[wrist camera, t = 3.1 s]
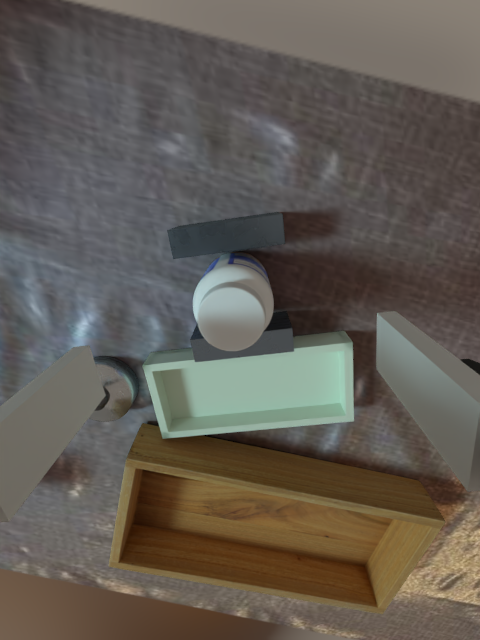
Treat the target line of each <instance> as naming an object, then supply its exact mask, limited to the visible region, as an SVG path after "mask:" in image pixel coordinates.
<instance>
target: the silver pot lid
mask: <svg viewBox="0 0 480 640" xmlns="http://www.w3.org/2000/svg"><path fill="white" fill-rule="evenodd" d="M94 361H95V364H96V367H97V370H98V373H99V377H100V380H101V383H102V386H103V389H104V392H105V395H106V396H105V397H104V398H103V400H102V401H101V402H100V404H99V405H98V406H97V408H96V409H95V410H94V411H93V413H92V414H91V415H90V417H89V419H92V420H95V421H101V422H109V421H114V420H117V419H119V418H121V417H122V416H124V415H125V414H126V413H127V412H128V410H129V408H130V407H131V405H132V403H133V401H134V400H135V398H136V396H137V394H138V389H139V385H138V380H137V377H136V375H135V373H134V372H133V370H132V369H131V368H130V367H129V366H128V365H127V364H125V363H124V362H122V361H120V360H118V359H116V358H113V357H108V356H99V357H94Z"/></svg>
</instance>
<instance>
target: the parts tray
mask: <svg viewBox="0 0 480 640" xmlns="http://www.w3.org/2000/svg"><path fill="white" fill-rule="evenodd" d="M293 343H294V352H285V353H276V354H267V355H258V356H249V357H240V358H231V359H222V360H213V361H203V362H195V360H194V355H193V351H192V348H186V349H177V350H169V351H160V352H151V353H150V355H149V356H148V358H147V359H146V361H145V362H144V364H143V365H142V366H143V369H144V373H145V376H146V380H147V384H148V387H149V391H150V395H151V398H152V402H153V405H154V409H155V413H156V416H157V420H158V423H159V427H160V431H161V434H162V438H163V439H166V438H177V437H188V436H198V435H209V434H220V433H231V432H241V431H252V430H263V429H274V428H284V427H295V426H306V425H317V424H327V423H338V422H349V421H354V397H353V342H352V340H351V339H350V338H349V336H348V335H347V334H346V332H345V331H336V332H327V333H318V334H309V335H301V336H293Z"/></svg>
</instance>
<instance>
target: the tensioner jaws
mask: <svg viewBox="0 0 480 640" xmlns="http://www.w3.org/2000/svg"><path fill="white" fill-rule="evenodd" d="M167 231H168V236H169V241H170V246H171V251H172V255H173V259H177V258H185V257H192V256H199V255H207V254H214V253H222V252H229V251H236V250H244V249H251V248H259V247H266V246H273V245H281V244H285V237H284V225H283V214H281V213H279V212H274V213H267V214H260V215H253V216H246V217H239V218H232V219H225V220H218V221H211V222H204V223H197V224H190V225H183V226H178V227H175V228H172V229H170V230H167ZM190 341H191V346H192V351H193V355H194V360H195V362H203V361H213V360H222V359H231V358H240V357H249V356H258V355H267V354H276V353H285V352H294V343H293V331H292V326H291V323H290V320H289V317H288V314H287V311H284V312H276V313H273V315H272V318H271V321H270V323H269V325H268V326H267V328H266V329H265V330H264V331H263V333H262V335H261V336H260V338H259V339H258V340H257V341H256V342H255V343H254V344H253V345H251V346H250V347H248V348H246V349H243V350H239V351H225V350H221V349H218V348H216V347H214V346H212V345H211V344H210V343H208V342H207V341H206V340H205V338H204V337H203V336H202V334H201V332H200V330H199V328H198V323H197V325H196V328H195V330H194V332H193V335H192V337H191V339H190Z"/></svg>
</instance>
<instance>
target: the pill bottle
mask: <svg viewBox="0 0 480 640" xmlns="http://www.w3.org/2000/svg"><path fill="white" fill-rule="evenodd" d="M273 309H274V299H273V294H272V290H271V286H270V283H269V279H268V276H267V273H266V270H265V268H264V267H263V265H262V264H261V263H260V261H259V260H258V259H256V258H255V257H253V256H252V255H250V254H247V253H243V252H229V253H226V254H223V255H221V256H219V257H218V258H216V259H215V260H214V261H213V262H212V263H211V264H210V266H209V267H208V269H207V270H206V272H205V274H204V275H203V277H202V278H201V280H200V282H199V284H198V285H197V287H196V290H195V293H194V297H193V312H194V316H195V319H196V321H197V323H198V328H199V330H200V332H201V334H202V336H203V337H204V338H205V340H206V341H207V342H208V343H210V344H211V345H212V346H214V347H216V348H218V349H221V350H225V351H239V350H243V349H246V348H248V347H250V346H251V345H253V344H254V343H255V342H256V341H257V340H258V339H259V338H260V336H261V335H262V333H263V331H264V330H265V329H266V328H267V326H268V325H269V323H270V321H271V318H272V315H273Z"/></svg>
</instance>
